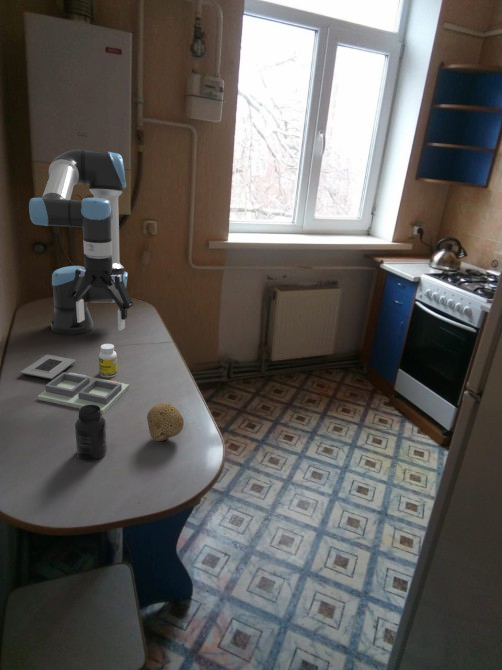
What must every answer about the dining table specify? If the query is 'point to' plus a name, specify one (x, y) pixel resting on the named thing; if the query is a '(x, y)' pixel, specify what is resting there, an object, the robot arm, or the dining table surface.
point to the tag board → (83, 391)
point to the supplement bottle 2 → (107, 361)
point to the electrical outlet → (48, 366)
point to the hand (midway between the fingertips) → (101, 325)
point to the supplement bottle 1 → (90, 433)
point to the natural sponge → (164, 421)
